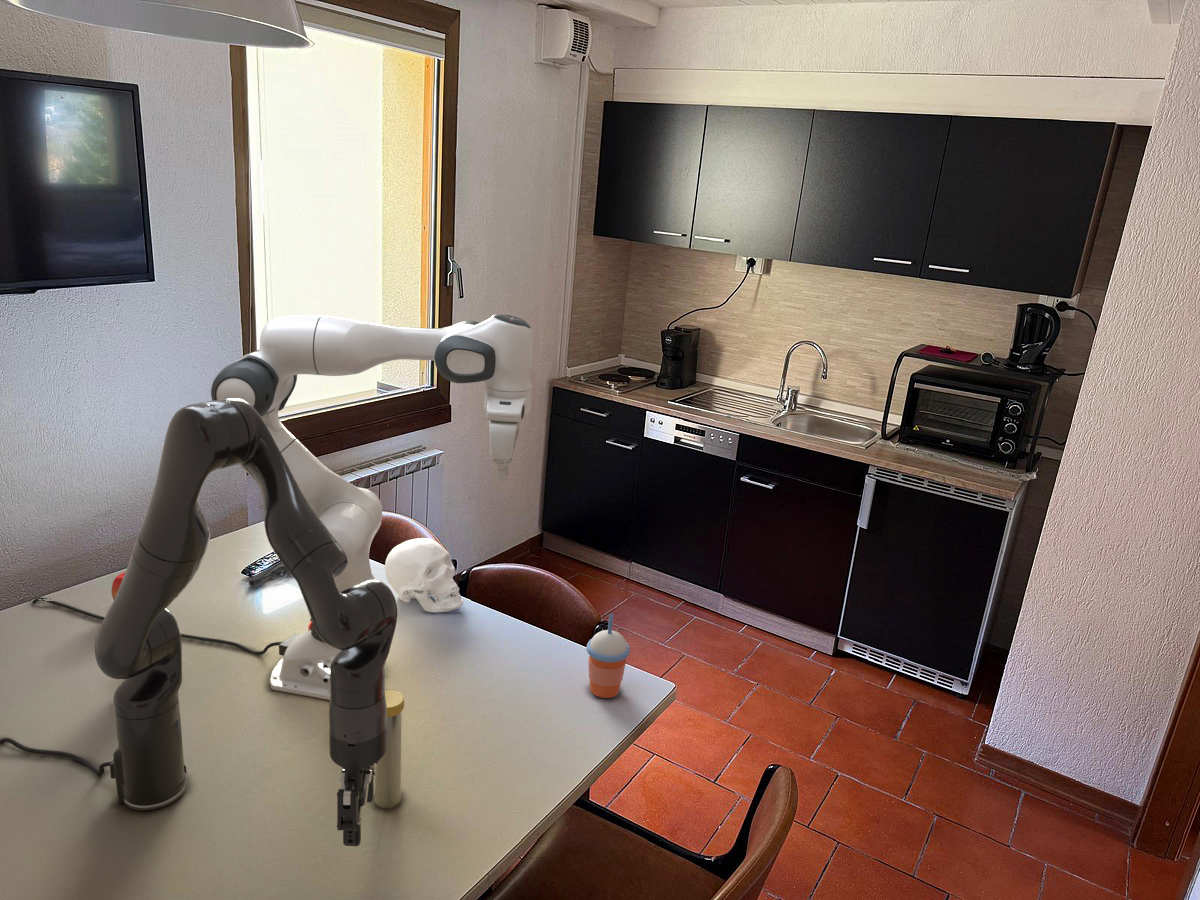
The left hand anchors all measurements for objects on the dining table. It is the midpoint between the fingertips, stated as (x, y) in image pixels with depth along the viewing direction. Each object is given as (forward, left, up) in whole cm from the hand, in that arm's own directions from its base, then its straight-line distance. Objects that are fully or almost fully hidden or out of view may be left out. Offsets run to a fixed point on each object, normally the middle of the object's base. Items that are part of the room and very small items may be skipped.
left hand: (359, 821), depth 120 cm
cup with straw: (+39, +57, -14) cm, 71 cm away
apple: (-69, +82, -14) cm, 108 cm away
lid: (0, +22, +5) cm, 22 cm away
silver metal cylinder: (0, +22, -14) cm, 26 cm away
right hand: (+15, +58, +34) cm, 69 cm away
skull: (-4, +94, -14) cm, 95 cm away
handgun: (-41, +104, -14) cm, 112 cm away
